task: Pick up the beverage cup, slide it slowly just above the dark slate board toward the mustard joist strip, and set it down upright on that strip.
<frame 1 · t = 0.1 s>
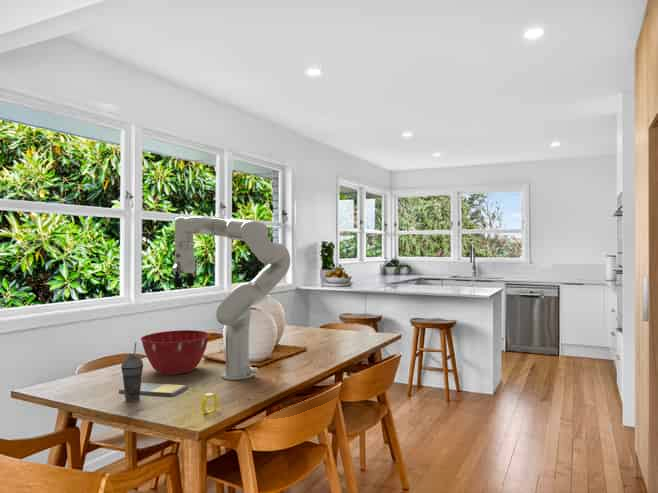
hand: (184, 286, 209), 37 cm above the table, tool pointing down, fingers open, 9 cm apart
beverage cup: (132, 400, 172), on the table
slate board: (153, 390, 183), on the table
mixing bowl: (175, 371, 213), on the table
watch: (209, 412, 158), on the table
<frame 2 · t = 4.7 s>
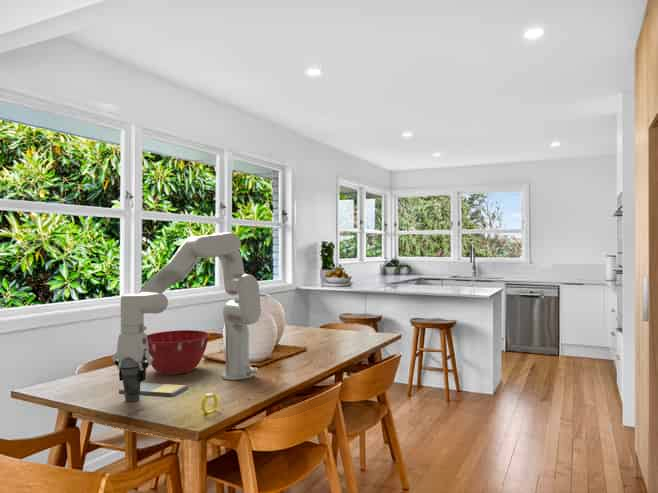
hand: (132, 380, 172), 7 cm above the table, tool pointing down, fingers closed on beverage cup, 6 cm apart
beverage cup: (132, 400, 172), on the table, touching gripper
everything else where it was.
when the fingers open (8 cm above the table, at t = 13.2 s): beverage cup stays where it is, resting on slate board.
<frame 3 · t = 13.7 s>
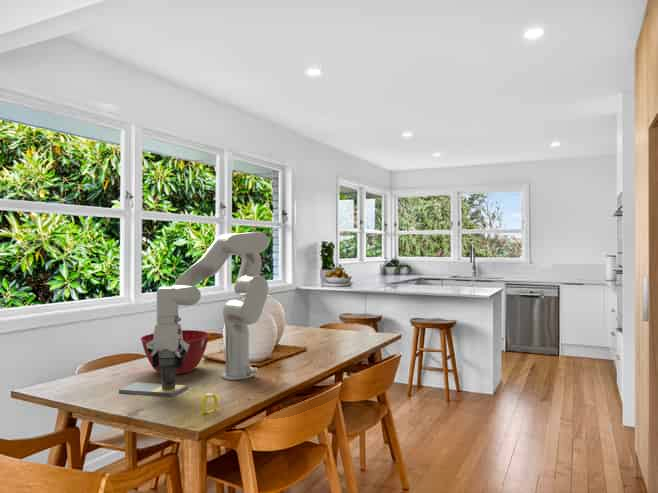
hand: (167, 366, 181), 9 cm above the table, tool pointing down, fingers open, 9 cm apart
beverage cup: (168, 389, 181), point 1 cm above the table, touching slate board
everything else where it was.
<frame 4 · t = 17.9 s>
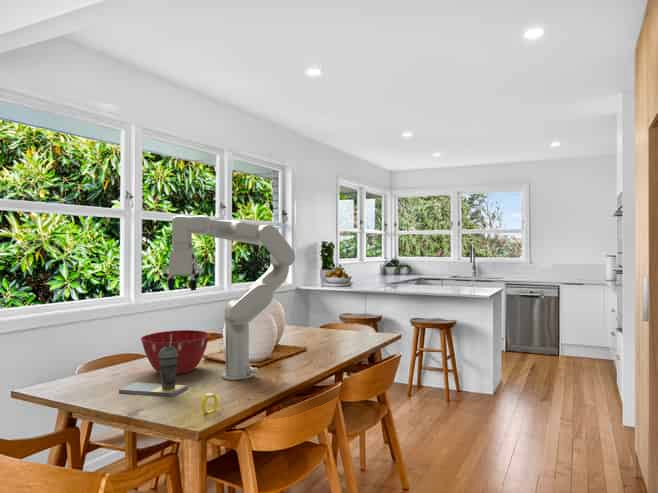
hand: (182, 290, 196), 36 cm above the table, tool pointing down, fingers open, 9 cm apart
nothing on the table moved.
at the end: beverage cup 0.4 cm from the target spot on the slate board, point 1.1 cm above the slate board's base; beverage cup tilted 0°; the gripper is holding nothing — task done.
